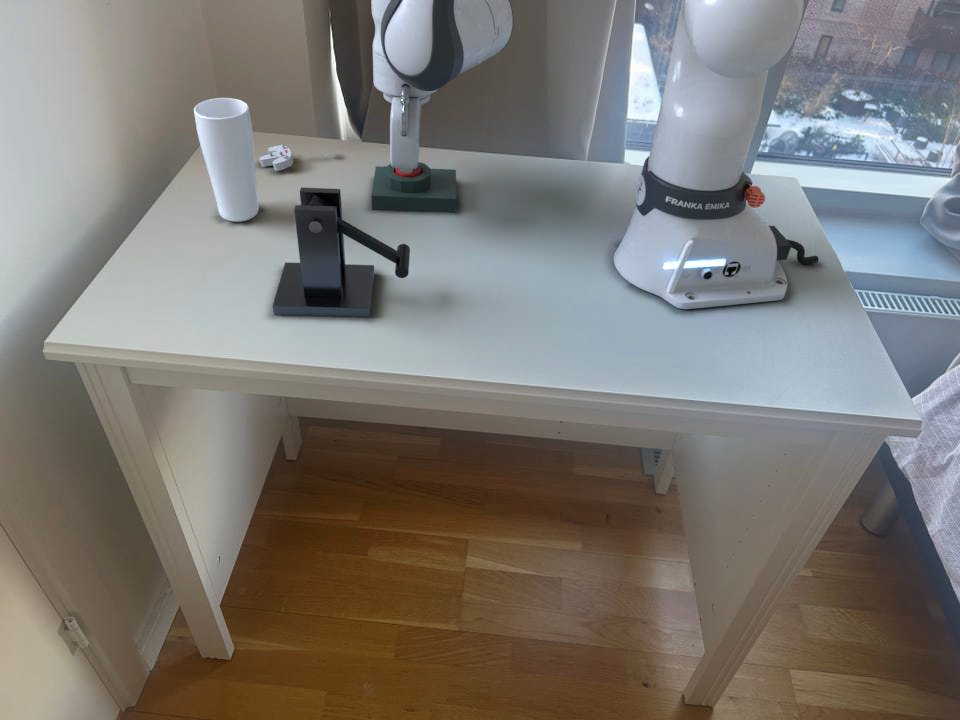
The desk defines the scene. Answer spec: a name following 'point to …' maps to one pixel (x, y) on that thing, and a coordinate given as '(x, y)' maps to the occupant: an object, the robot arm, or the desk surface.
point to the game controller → (278, 157)
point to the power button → (414, 173)
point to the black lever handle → (372, 242)
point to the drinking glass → (229, 155)
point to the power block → (415, 190)
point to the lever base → (322, 265)
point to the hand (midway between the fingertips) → (406, 168)
